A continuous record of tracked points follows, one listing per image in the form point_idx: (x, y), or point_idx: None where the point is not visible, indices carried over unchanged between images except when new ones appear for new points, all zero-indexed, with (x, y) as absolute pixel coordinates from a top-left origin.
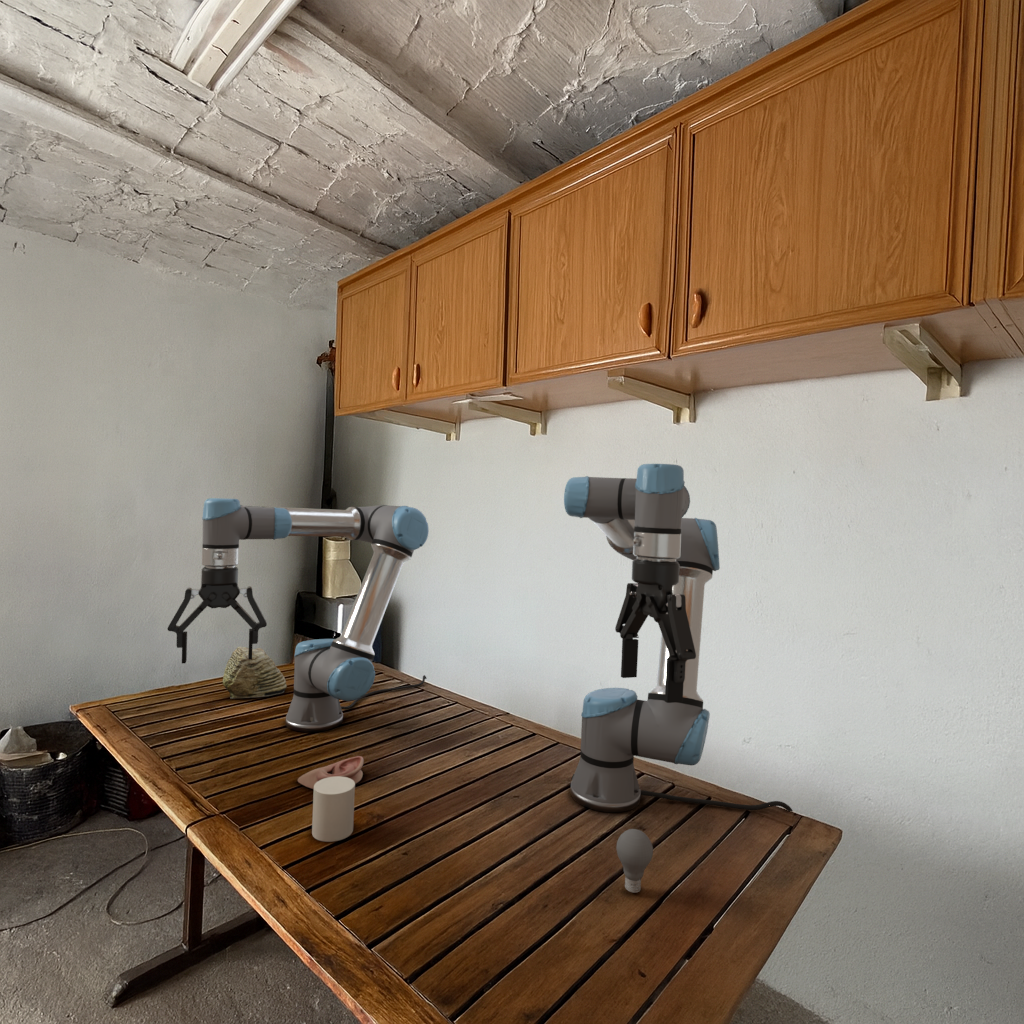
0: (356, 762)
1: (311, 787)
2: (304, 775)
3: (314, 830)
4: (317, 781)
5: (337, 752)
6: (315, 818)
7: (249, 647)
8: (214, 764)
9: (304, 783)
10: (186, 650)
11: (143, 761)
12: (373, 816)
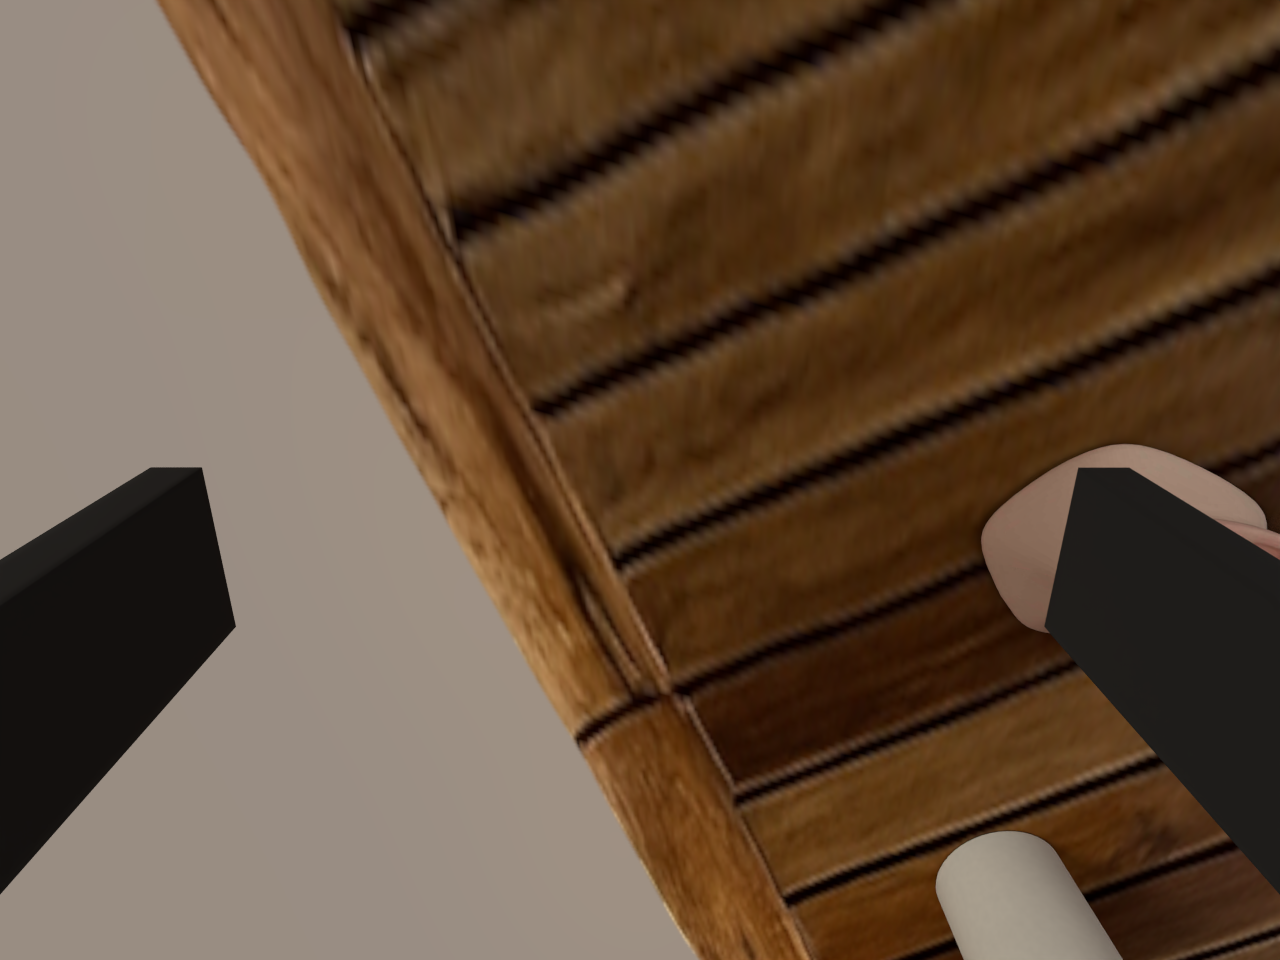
0: (1273, 555)
1: (1017, 617)
2: (1019, 541)
3: (945, 914)
4: None
5: (1263, 238)
6: (961, 953)
7: (1157, 740)
8: (634, 215)
9: (1000, 583)
10: (115, 597)
11: (255, 50)
12: (1145, 835)
